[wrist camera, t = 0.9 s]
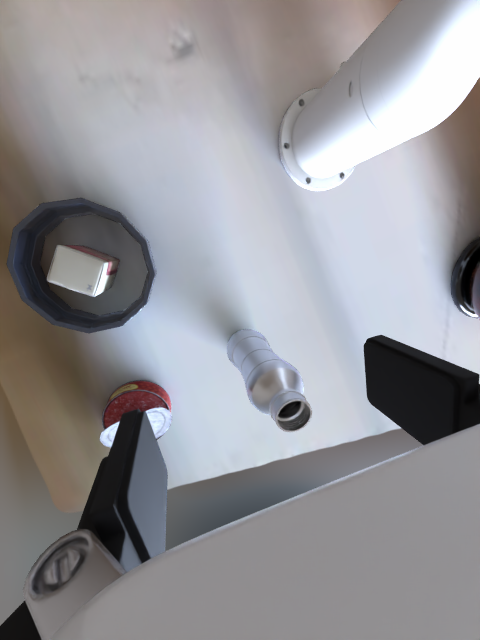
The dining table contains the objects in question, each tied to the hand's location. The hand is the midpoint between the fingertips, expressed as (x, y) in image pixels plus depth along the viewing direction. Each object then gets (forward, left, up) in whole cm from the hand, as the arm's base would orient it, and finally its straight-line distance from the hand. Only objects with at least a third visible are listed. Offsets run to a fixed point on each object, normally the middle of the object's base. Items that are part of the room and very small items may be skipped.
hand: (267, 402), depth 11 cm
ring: (+1, -14, -31) cm, 34 cm away
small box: (+2, -14, -31) cm, 35 cm away
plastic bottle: (+7, +10, -31) cm, 33 cm away
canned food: (+22, -3, -31) cm, 38 cm away
